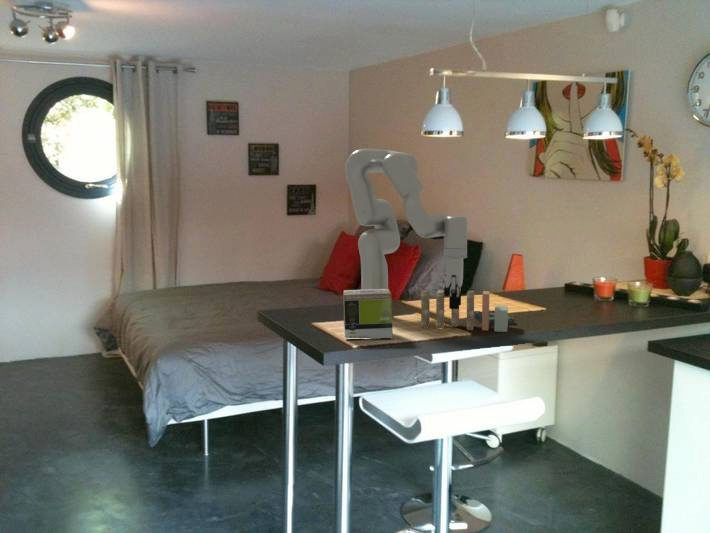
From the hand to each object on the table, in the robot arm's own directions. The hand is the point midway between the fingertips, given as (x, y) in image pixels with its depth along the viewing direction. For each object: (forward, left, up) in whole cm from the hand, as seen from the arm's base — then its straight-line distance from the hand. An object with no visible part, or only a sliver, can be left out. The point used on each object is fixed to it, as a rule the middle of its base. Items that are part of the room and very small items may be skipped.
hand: (455, 306), depth 239 cm
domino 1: (-10, 0, -7) cm, 12 cm away
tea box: (-26, -18, -7) cm, 32 cm away
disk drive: (+12, +13, -8) cm, 19 cm away
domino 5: (+10, 0, -7) cm, 12 cm away
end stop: (+15, 0, -7) cm, 17 cm away
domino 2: (-5, 0, -7) cm, 9 cm away
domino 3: (0, 0, -6) cm, 6 cm away
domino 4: (+5, 0, -7) cm, 9 cm away
